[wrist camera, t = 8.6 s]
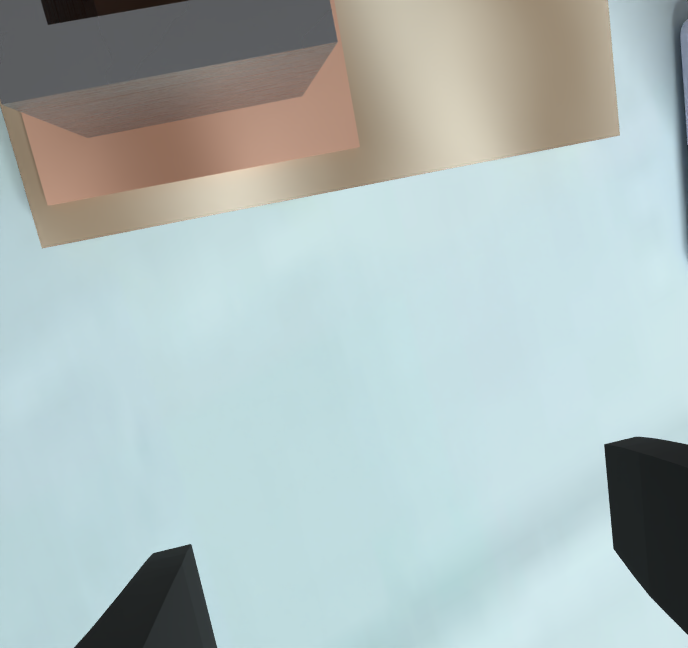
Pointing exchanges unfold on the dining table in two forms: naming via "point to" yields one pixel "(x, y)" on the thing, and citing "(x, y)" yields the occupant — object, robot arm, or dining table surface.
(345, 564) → the dining table surface
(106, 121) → the collar
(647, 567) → the robot arm
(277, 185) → the stand
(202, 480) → the dining table surface
